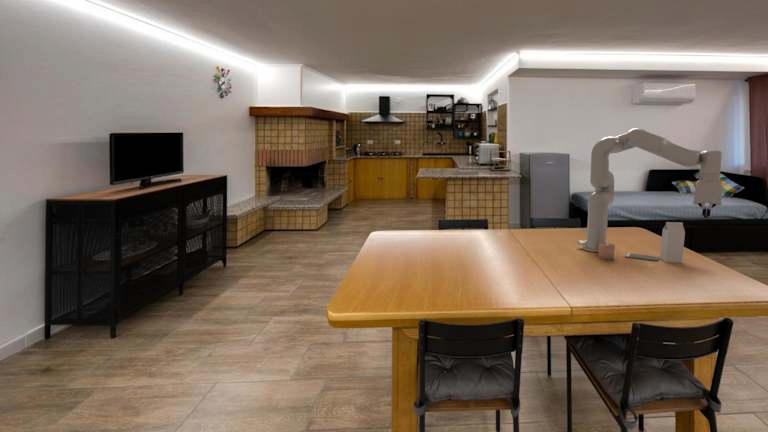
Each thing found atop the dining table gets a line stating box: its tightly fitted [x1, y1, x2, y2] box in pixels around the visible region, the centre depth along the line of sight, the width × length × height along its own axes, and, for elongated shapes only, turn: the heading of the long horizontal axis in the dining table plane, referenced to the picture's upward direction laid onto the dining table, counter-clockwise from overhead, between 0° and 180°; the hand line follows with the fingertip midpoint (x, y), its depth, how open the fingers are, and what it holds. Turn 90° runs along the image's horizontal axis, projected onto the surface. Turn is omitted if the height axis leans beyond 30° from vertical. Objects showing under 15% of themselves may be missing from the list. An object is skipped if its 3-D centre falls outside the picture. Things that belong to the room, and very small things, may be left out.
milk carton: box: [659, 221, 686, 264], centre depth 216 cm, size 7×7×19 cm
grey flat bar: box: [624, 252, 660, 262], centre depth 224 cm, size 14×8×1 cm, turn 54°
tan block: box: [597, 242, 616, 261], centre depth 223 cm, size 7×7×7 cm
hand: (705, 217), depth 207 cm, fingers closed
